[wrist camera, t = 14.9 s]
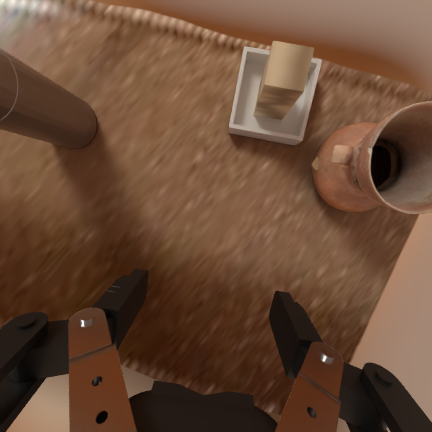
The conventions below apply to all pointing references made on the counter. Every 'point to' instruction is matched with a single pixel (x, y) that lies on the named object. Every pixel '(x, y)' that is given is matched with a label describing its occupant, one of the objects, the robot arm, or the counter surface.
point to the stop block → (283, 79)
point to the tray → (247, 95)
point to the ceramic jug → (379, 164)
